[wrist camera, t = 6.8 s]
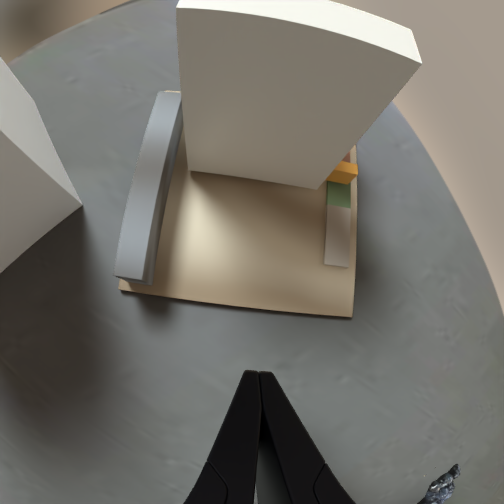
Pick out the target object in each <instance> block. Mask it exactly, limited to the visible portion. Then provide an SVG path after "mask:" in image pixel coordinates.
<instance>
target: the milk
mask: <svg viewBox="0 0 504 504" xmlns="http://www.w3.org/2000/svg"><path fill="white" fill-rule="evenodd" d="M82 205H83V204H82V202H81V200H80V199H79V197H78V195H77V193H76V191H75V189H74V187H73V185H72V183H71V181H70V179H69V177H68V175H67V173H66V171H65V169H64V167H63V165H62V163H61V161H60V159H59V157H58V155H57V152H56V150H55V148H54V146H53V144H52V142H51V139H50V137H49V135H48V133H47V130H46V128H45V126H44V124H43V121H42V119H41V116H40V114H39V112H38V109H37V107H36V104H35V102H34V100H33V99H32V98H31V96H30V95H29V94H28V93H27V91H26V90H25V89H24V87H23V86H22V85H21V83H20V82H19V81H18V80H17V78H16V77H15V76H14V74H13V73H12V72H11V70H10V69H9V68H8V66H7V65H6V64H5V62H4V61H3V60H2V58H1V57H0V273H1V272H2V271H3V270H4V269H6V268H7V267H8V266H9V265H10V264H11V263H12V262H13V261H14V260H15V259H17V258H18V257H19V256H20V255H21V254H22V253H23V252H25V251H26V250H27V249H28V248H29V247H30V246H32V245H33V244H34V243H35V242H36V241H38V240H39V239H40V238H41V237H42V236H44V235H45V234H46V233H47V232H48V231H50V230H51V229H52V228H53V227H55V226H56V225H57V224H59V223H60V222H61V221H62V220H64V219H65V218H66V217H68V216H69V215H70V214H71V213H73V212H74V211H75V210H77V209H78V208H79V207H81V206H82Z"/></svg>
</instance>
